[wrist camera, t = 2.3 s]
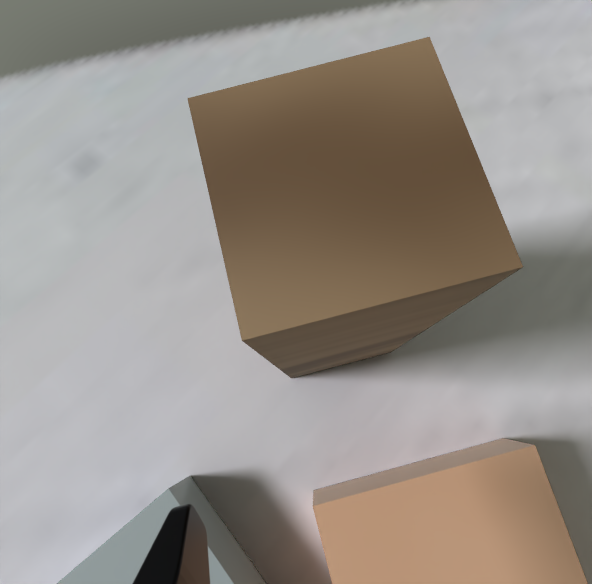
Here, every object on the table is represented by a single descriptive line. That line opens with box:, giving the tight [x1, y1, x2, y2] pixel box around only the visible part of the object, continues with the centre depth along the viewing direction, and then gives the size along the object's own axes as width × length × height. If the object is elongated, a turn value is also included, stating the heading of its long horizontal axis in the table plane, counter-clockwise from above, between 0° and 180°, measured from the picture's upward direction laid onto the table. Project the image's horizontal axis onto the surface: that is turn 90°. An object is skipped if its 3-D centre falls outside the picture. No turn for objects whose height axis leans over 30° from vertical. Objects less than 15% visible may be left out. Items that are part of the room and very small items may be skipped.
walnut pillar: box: [188, 37, 523, 378], centre depth 15 cm, size 5×5×14 cm
